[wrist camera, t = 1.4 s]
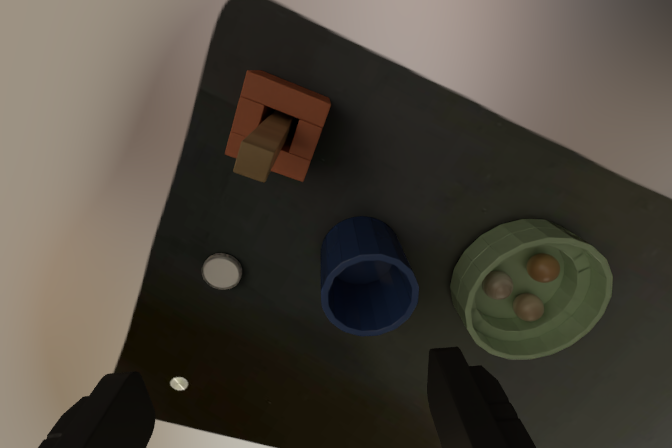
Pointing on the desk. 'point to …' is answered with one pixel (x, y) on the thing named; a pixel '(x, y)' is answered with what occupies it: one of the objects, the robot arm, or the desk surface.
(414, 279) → the crock
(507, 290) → the bead
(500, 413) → the robot arm
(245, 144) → the stick
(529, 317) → the bead
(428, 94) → the desk surface
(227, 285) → the grey bottle cap
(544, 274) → the bead
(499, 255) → the bowl
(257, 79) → the holder
